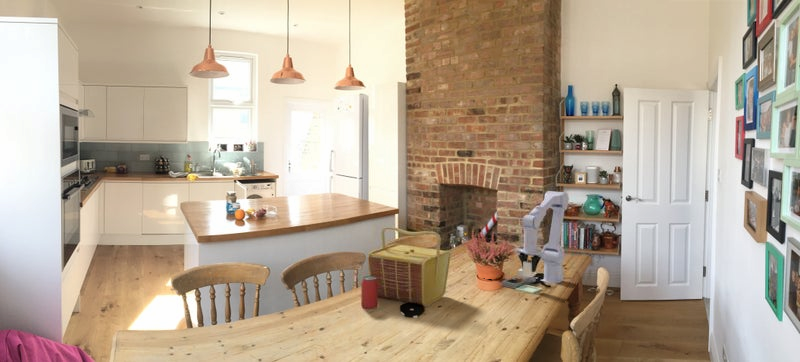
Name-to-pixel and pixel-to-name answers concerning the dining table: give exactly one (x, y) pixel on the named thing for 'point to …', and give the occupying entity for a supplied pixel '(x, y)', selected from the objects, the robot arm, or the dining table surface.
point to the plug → (528, 269)
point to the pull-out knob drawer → (520, 274)
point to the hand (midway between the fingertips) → (529, 270)
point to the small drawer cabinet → (517, 282)
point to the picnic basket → (410, 270)
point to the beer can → (369, 292)
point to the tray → (528, 289)
